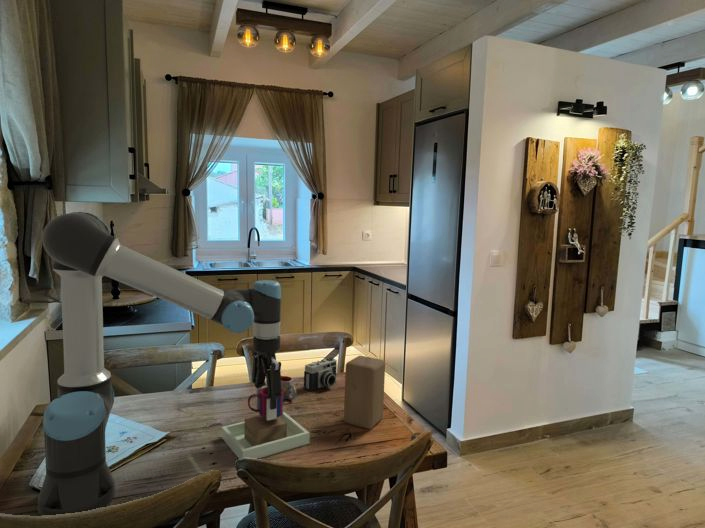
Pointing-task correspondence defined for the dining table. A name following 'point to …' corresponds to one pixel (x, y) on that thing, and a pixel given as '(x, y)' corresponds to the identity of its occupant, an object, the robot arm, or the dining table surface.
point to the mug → (288, 388)
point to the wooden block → (364, 391)
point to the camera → (320, 374)
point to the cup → (263, 403)
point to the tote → (244, 449)
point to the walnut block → (264, 430)
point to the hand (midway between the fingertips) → (265, 413)
